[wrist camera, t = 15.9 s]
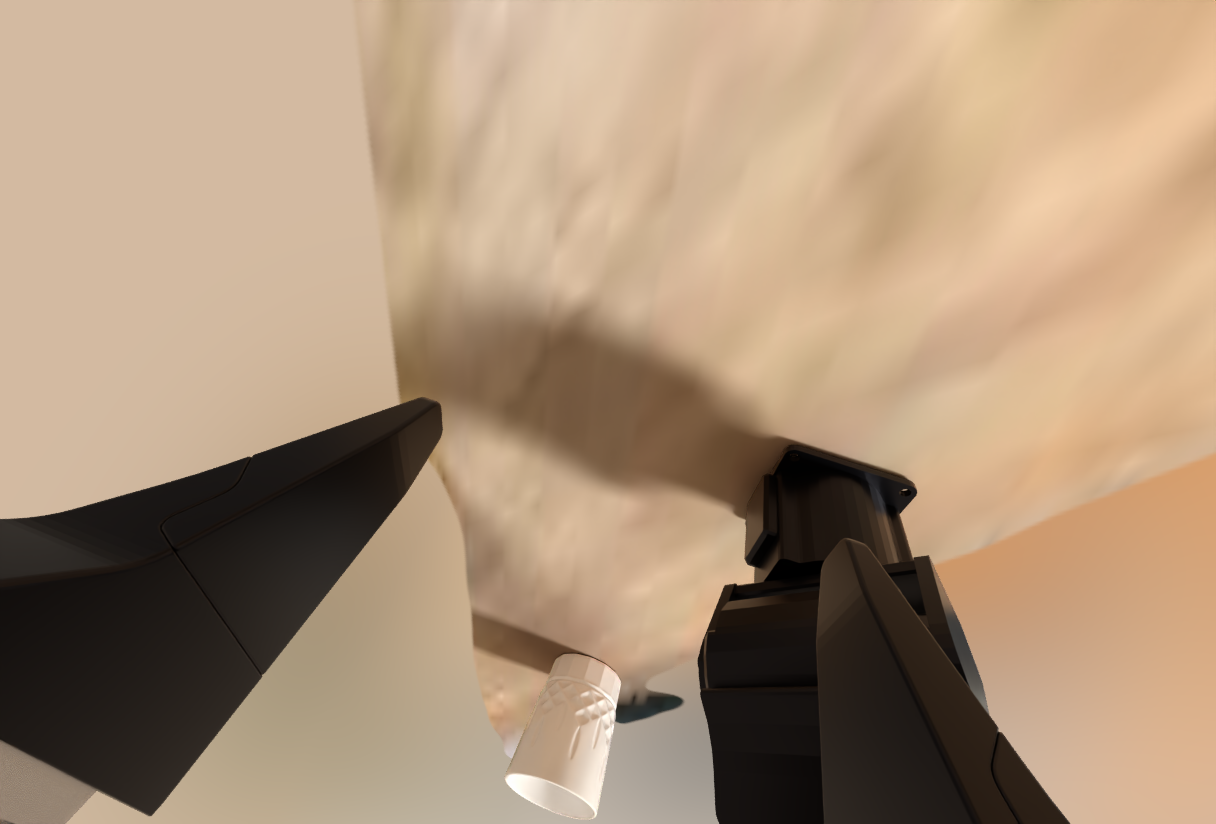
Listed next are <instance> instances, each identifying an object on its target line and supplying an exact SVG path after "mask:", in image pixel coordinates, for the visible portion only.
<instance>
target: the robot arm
mask: <svg viewBox="0 0 1216 824" xmlns="http://www.w3.org/2000/svg"><path fill="white" fill-rule="evenodd" d="M442 431H443V426H442V412H441V405H440V403H438V402H437V401H434V400H431V399H428V398H425V397H421V398H417V399H414V400H411V401H408V402H406V403H403V404H400V405H397V406H394V407H391V408H388V409H385V410H382V411H380V412H377V413H374V414H371V415H368V416H365V417H362V418H359V419H356V420H353V421H351V422H348V423H345V424H342V425H339V426H336V427H333V428H331V429H327V430H325V431H322V432H319V433H316V434H313V435H311V436H307V437H305V438H301V439H299V440H296V441H293V442H290V443H287V444H284V445H281V446H278V447H275V448H272V449H270V450H267V451H264V452H261V453H258V454H255V455H253V456H252V457H246V458H243V459H240V460H237V461H234V462H232V463H229V464H226V465H223V466H219V467H216V468H213V469H211V470H207V471H204V472H201V473H199V474H195V475H192V476H188V477H185V478H181V479H178V480H175V481H171V482H168V483H165V484H161V485H158V486H154V487H151V488H147V489H143V490H140V491H136V492H133V493H130V494H126V495H123V496H119V497H115V498H111V499H108V500H104V501H101V502H97V503H94V504H90V505H87V506H83V507H80V508H76V509H72V510H68V511H64V512H60V513H55V514H50V515H45V516H38V517H30V518H17V519H0V824H65V823H66V822H67V821H68V820H69V819H70V818H71V817H72V816H73V815H74V814H75V813H76V812H77V811H78V810H79V808H81V807H82V806H83V804H84V803H85V802H86V801H87V800H88V799H89V798H90V797H91V796H92V795H93V794H94V793H95V792H96V791H98V792H101V793H102V794H105V795H107V796H109V797H111V798H113V799H115V800H117V801H119V802H121V803H123V804H125V805H127V806H129V807H131V808H134V809H135V810H137V811H139V812H142V813H144V814H146V815H148V816H152V815H153V814H154V813H155V811H156V810H157V809H158V808H159V807H160V806H161V804H162V803H163V802H164V801H165V800H166V799H167V797H168V796H169V795H170V793H171V792H172V791H173V790H174V788H175V787H176V786H177V785H178V783H179V782H180V781H181V779H182V778H183V777H184V776H185V774H186V773H187V772H188V771H189V769H190V768H191V767H192V765H193V764H194V763H195V762H196V760H197V759H198V758H199V756H200V755H201V754H202V753H203V751H204V750H205V749H206V748H207V746H208V745H209V744H210V742H211V741H212V740H213V739H214V737H215V736H216V735H217V734H218V732H219V731H220V730H221V729H222V727H223V726H224V725H225V724H226V722H227V721H228V720H229V718H230V717H231V716H232V714H233V713H234V712H235V711H236V709H237V708H238V707H239V706H240V705H241V703H242V702H243V701H244V699H245V698H246V697H247V696H248V694H249V693H250V692H251V690H252V689H253V688H254V687H255V685H256V684H257V683H258V682H259V680H260V679H261V678H262V675H263V674H264V673H265V672H266V671H267V669H268V668H269V667H270V666H271V665H272V663H273V662H274V661H275V660H276V658H277V657H278V656H279V654H280V653H281V652H282V651H283V649H284V648H285V647H286V646H287V644H288V643H289V642H290V640H291V639H292V638H293V636H294V635H295V634H296V633H297V632H298V630H299V629H300V628H301V627H302V625H303V624H304V623H305V621H306V620H307V619H308V617H309V616H310V615H311V614H312V613H313V611H314V610H315V609H316V607H317V606H318V605H319V604H320V602H321V601H322V600H323V599H324V597H325V596H326V594H327V593H328V592H329V591H330V590H331V588H332V587H333V586H334V585H335V583H336V582H337V581H338V579H339V578H340V577H341V576H342V574H343V573H344V572H345V571H346V569H347V568H348V567H349V566H350V564H351V563H352V562H353V560H354V559H355V558H356V556H357V555H358V554H359V553H360V552H361V550H362V549H363V548H364V546H365V545H366V544H367V542H368V541H369V540H370V539H371V538H372V536H373V535H374V534H375V532H376V531H377V530H378V529H379V527H380V526H381V525H382V523H383V522H384V521H385V520H386V518H387V517H388V516H389V515H390V513H391V512H392V511H393V509H394V508H395V507H396V506H397V504H398V503H399V502H400V501H401V499H402V498H403V497H404V495H405V494H406V493H407V491H408V490H409V488H410V487H411V485H412V483H413V482H414V480H415V479H416V477H417V475H418V474H419V472H420V471H421V469H422V467H423V466H424V464H425V463H426V461H427V459H428V458H429V456H430V454H431V453H432V451H433V450H434V448H435V446H436V445H437V443H438V442H439V440H440V438H441V435H442ZM791 454H798V456H791ZM902 489H908V490H906V491H901V490H902ZM916 494H917V489H916V487H915V484H914V483H913V482H911V481H909V480H906V479H903V478H900V477H897V476H894V475H890V474H887V473H884V472H881V471H878V470H875V469H871V468H868V467H865V466H862V465H859V464H855V463H852V462H849V461H846V460H843V459H840V458H836V457H833V456H830V455H827V454H824V453H820V452H817V451H814V450H811V449H808V448H804V447H801V446H798V445H790V446H788V447H786V448H785V449H784V451H783V453H782V455H781V456H780V458H779V460H778V462H777V463H776V465H775V467H774V469H773V471H772V472H771V474H766V475H764V476H763V477H762V479H761V481H760V483H759V485H758V486H757V488H756V490H755V492H754V494H753V495H752V497H751V499H750V501H749V503H748V505H747V516H746V522H745V525H746V541H745V561H746V563H747V564H748V565H750V566H753V567H755V572H754V583H751V584H744V585H737V584H729V585H725V586H724V588H723V591H722V593H721V596H720V599H719V601H718V604H717V606H716V609H715V611H714V614H713V616H712V619H711V621H710V624H709V627H708V629H707V632H706V634H705V637H704V639H703V642H702V645H701V649H700V654H699V657H698V667H699V681H700V689H701V692H700V695H701V700H702V704H703V707H704V711H705V715H706V718H707V722H708V728H709V734H710V740H711V746H712V754H713V768H714V787H715V808H716V816H717V819H718V822H719V824H1070V823H1069V821H1068V820H1067V819H1066V818H1065V816H1064V815H1063V814H1062V812H1061V811H1060V810H1059V809H1058V807H1057V806H1056V805H1055V804H1054V802H1053V801H1052V800H1051V799H1050V797H1049V796H1048V795H1047V793H1046V792H1045V790H1044V789H1043V788H1042V787H1041V785H1040V784H1039V782H1038V781H1037V780H1036V779H1035V777H1034V776H1033V774H1032V773H1031V772H1030V770H1029V769H1028V768H1027V766H1026V765H1025V764H1024V762H1023V761H1022V760H1021V758H1020V757H1019V756H1018V754H1017V753H1016V751H1015V750H1014V748H1013V747H1012V746H1011V744H1010V743H1009V742H1008V740H1007V739H1006V737H1005V736H1004V735H1003V733H1001V732H998V727H997V725H996V724H995V722H994V721H993V720H992V718H991V717H990V716H989V711H988V706H987V701H986V697H985V692H984V688H983V683H982V680H981V678H980V675H979V672H978V670H977V667H976V664H975V661H974V659H973V656H972V653H971V651H970V648H969V645H968V643H967V640H966V637H965V635H964V632H963V629H962V627H961V624H960V622H959V620H958V618H957V615H956V613H955V611H954V609H953V607H952V605H951V603H950V600H949V598H948V596H947V594H946V592H945V589H944V587H943V585H942V583H941V581H940V579H939V576H938V574H937V572H936V570H935V568H934V566H933V563H932V561H931V559H930V557H929V555H928V556H921V557H914V560H913V557H912V554H911V550H910V547H909V544H908V541H907V537H906V534H905V531H904V527H903V524H902V521H901V517H900V513H901V512H902V511H903V510H904V509H905V508H906V506H907V505H908V504H909V503H910V502H911V501H912V500H913V499H914V497H915V496H916Z"/></svg>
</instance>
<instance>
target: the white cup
mask: <svg viewBox="0 0 1216 824" xmlns="http://www.w3.org/2000/svg"><path fill="white" fill-rule="evenodd" d="M620 686H621V681H620V679H619V677H618V675H617V674H616V672H615V671H613V670H612V669H611V668H610V667H608V666H607V665H606V664H604V663H602V662H600V661H598V660H596V659H594V658H592V657H588V656H584V655H580V654H563V655H561V656H560V657H558V658H556V660H555V662H554V664H553V667H552V669H551V672H550V674H549V677H548V679H547V682H546V685H545V686H544V688H543V689H542V691H541V693H540V695H539V697H538V700H537V702H536V705H535V707H534V709H533V711H532V713H531V715H530V717H529V720H528V722H527V724H526V727H525V729H524V732H523V734H522V736H521V739H520V741H519V744H518V746H517V748H516V751H515V753H514V756H513V758H512V760H511V763H510V765H509V768H508V770H507V772H506V775H505V781H506V783H507V784H508V785H509V787H510V788H511V789H512V790H514V791H515V792H516V793H518V794H519V795H521V796H522V797H523V798H525V799H527V800H529V801H530V802H532V803H534V804H536V805H538V806H540V807H542V808H544V809H547V810H549V811H552V812H555V813H557V814H560V815H563V816H567V817H570V818H575V819H583V820H589V819H593V818H595V817H596V816H597V811H598V806H599V800H600V795H601V790H602V785H603V780H604V775H605V770H606V765H607V760H608V755H609V750H610V745H611V740H612V735H613V728H614V722H615V718H616V715H615V711H616V705H617V700H618V696H619V691H620Z"/></svg>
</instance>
